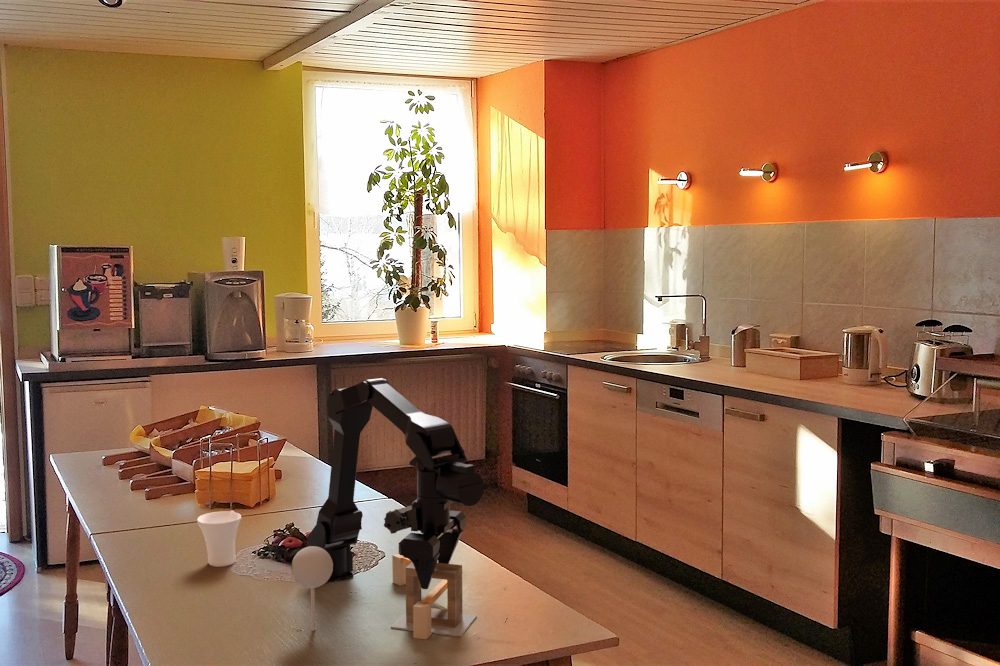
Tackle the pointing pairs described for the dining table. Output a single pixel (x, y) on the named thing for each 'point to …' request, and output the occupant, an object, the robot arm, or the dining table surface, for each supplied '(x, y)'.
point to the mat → (457, 631)
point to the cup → (220, 536)
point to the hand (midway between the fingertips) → (434, 579)
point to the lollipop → (312, 571)
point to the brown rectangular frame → (453, 594)
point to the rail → (420, 608)
